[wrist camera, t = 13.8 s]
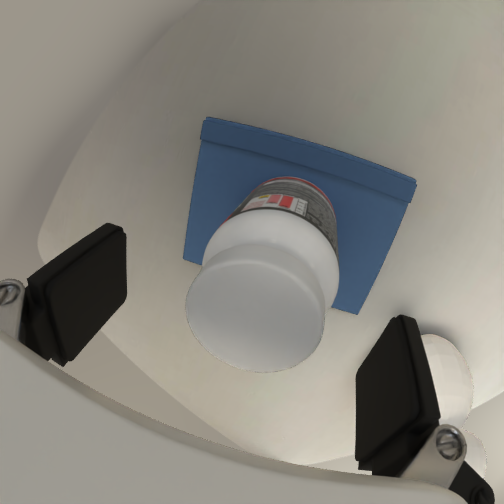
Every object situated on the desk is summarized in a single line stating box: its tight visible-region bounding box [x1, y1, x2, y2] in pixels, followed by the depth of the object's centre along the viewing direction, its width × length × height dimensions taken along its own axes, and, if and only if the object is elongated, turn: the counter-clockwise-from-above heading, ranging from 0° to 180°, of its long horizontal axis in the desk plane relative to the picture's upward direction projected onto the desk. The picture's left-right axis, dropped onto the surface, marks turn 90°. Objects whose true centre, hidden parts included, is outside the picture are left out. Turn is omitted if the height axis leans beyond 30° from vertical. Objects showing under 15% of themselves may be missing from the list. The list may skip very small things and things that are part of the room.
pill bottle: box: [186, 177, 340, 373], centre depth 14 cm, size 6×6×10 cm
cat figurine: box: [421, 334, 487, 479], centre depth 14 cm, size 9×12×15 cm
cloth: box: [183, 117, 417, 315], centre depth 18 cm, size 13×10×1 cm
